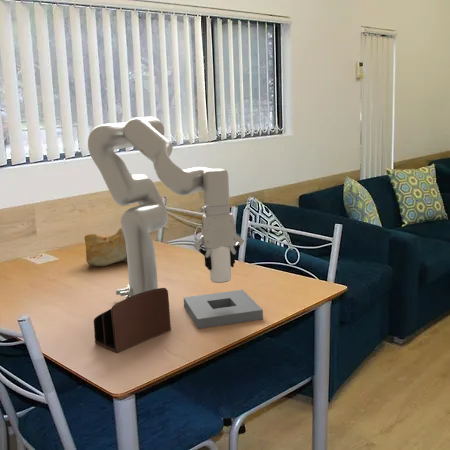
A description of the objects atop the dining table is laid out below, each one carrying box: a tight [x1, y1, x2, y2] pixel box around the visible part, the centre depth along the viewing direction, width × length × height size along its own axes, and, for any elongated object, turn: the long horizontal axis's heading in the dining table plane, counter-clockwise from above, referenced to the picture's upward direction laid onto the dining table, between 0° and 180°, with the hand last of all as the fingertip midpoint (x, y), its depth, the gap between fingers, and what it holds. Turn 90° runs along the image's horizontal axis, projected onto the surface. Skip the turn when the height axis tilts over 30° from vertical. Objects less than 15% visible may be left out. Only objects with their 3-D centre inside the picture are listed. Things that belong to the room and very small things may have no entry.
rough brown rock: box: [84, 227, 127, 267], centre depth 244 cm, size 23×17×15 cm
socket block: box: [183, 289, 264, 329], centre depth 181 cm, size 20×20×3 cm
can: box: [209, 246, 232, 284], centre depth 178 cm, size 6×6×12 cm
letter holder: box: [93, 287, 172, 354], centre depth 164 cm, size 10×20×14 cm, turn 137°
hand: (220, 266), depth 178 cm, fingers closed on can, 6 cm apart
